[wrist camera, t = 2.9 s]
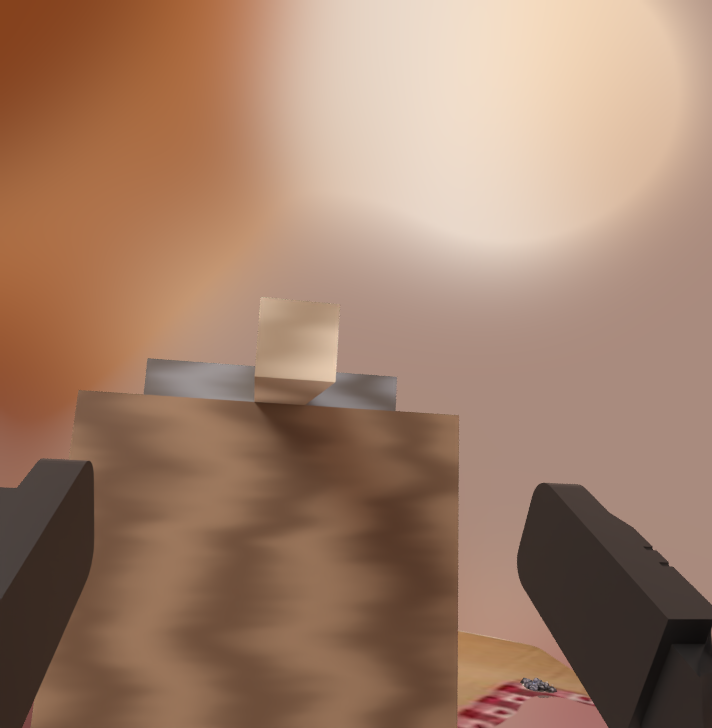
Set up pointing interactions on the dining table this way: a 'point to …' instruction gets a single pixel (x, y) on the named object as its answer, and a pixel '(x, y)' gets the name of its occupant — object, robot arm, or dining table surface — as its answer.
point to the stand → (262, 568)
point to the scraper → (280, 365)
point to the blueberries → (538, 686)
